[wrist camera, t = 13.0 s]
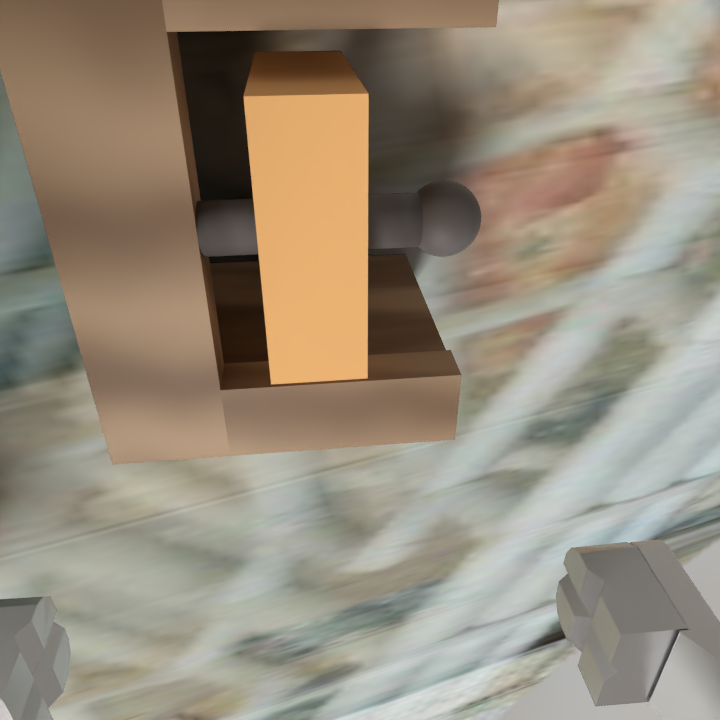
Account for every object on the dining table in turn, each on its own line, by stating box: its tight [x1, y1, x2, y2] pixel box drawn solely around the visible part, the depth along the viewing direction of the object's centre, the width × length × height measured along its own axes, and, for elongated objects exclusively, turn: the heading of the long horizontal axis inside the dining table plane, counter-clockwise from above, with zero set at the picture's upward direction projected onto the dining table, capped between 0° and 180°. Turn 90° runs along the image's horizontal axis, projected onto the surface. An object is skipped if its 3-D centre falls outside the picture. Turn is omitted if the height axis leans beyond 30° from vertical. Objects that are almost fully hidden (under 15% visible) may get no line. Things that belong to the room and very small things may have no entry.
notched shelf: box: [0, 0, 499, 464], centre depth 28 cm, size 20×15×14 cm
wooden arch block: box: [243, 51, 369, 384], centre depth 25 cm, size 10×4×10 cm, turn 0°
